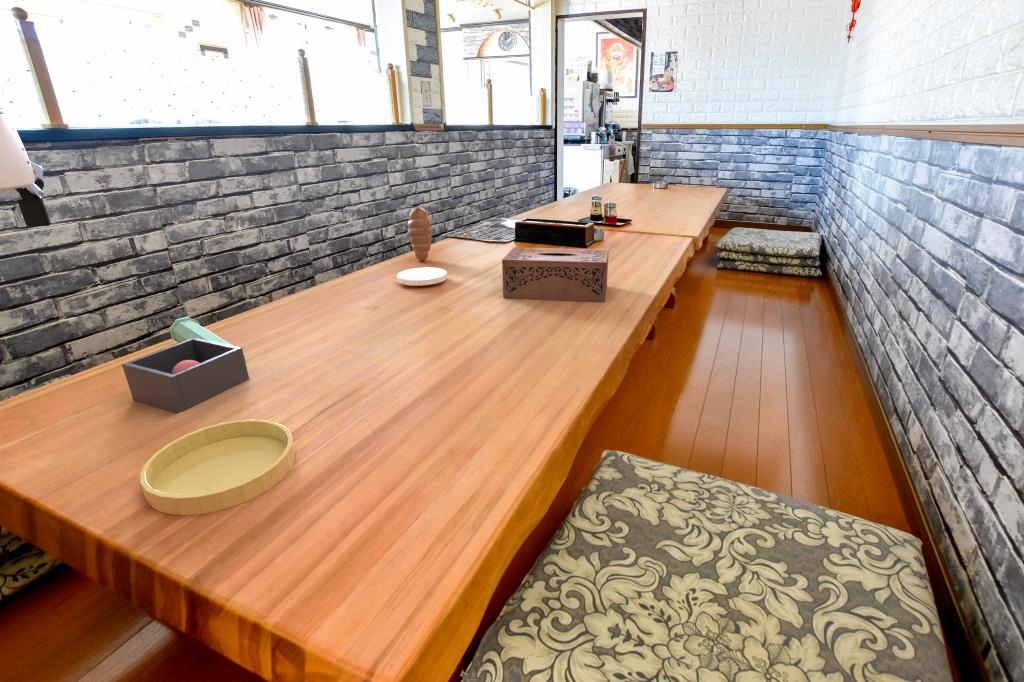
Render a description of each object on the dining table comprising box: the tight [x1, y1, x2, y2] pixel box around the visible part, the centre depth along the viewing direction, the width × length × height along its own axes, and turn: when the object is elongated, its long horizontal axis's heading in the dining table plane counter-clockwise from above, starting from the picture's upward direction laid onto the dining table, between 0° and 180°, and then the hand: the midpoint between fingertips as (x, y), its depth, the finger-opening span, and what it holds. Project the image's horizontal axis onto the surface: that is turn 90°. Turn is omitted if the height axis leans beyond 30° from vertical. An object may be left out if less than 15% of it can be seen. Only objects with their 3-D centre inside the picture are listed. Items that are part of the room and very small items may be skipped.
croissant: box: [407, 204, 433, 262], centre depth 172 cm, size 9×8×18 cm
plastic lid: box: [396, 266, 448, 287], centre depth 151 cm, size 14×14×2 cm
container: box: [168, 316, 247, 364], centre depth 104 cm, size 6×6×25 cm
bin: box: [121, 338, 250, 414], centre depth 89 cm, size 13×13×7 cm
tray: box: [139, 418, 296, 516], centre depth 68 cm, size 17×17×3 cm
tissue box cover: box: [501, 246, 610, 303], centre depth 138 cm, size 26×14×10 cm, turn 79°
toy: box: [172, 360, 200, 375], centre depth 89 cm, size 5×5×5 cm
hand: (13, 231), depth 76 cm, fingers open, 9 cm apart
